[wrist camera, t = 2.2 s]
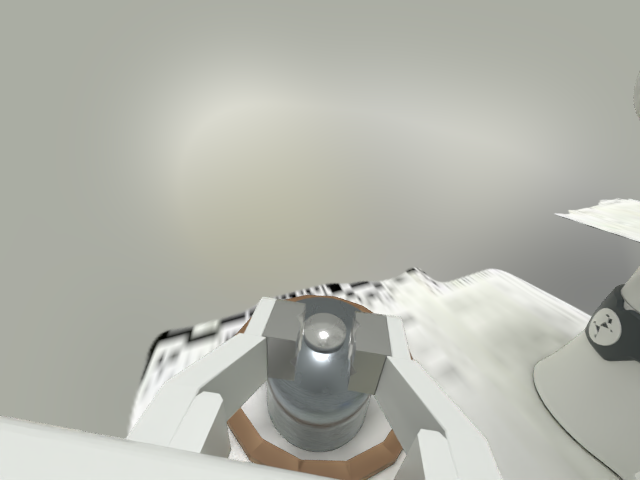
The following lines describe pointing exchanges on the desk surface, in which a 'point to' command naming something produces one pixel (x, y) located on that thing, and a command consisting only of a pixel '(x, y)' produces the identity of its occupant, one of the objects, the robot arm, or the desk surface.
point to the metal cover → (319, 382)
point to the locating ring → (347, 472)
